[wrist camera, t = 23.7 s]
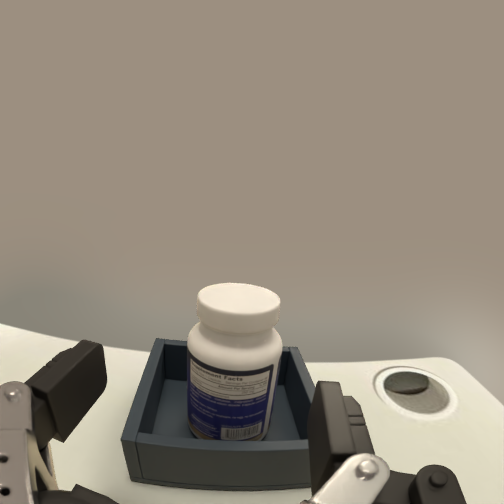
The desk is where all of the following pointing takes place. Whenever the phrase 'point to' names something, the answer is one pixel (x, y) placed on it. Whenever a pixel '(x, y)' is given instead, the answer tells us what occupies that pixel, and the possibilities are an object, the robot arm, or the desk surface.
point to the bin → (215, 451)
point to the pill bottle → (233, 362)
